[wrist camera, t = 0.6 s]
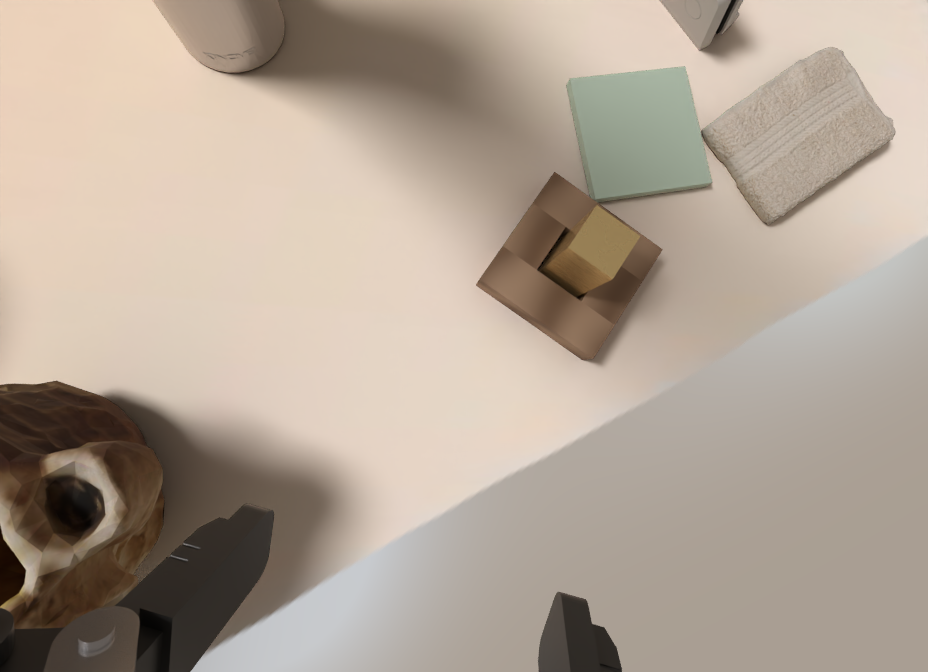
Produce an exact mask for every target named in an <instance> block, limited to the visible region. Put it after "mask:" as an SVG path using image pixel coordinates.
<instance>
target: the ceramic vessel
mask: <svg viewBox="0 0 928 672" xmlns="http://www.w3.org/2000/svg"><path fill="white" fill-rule="evenodd" d="M162 483H163V469H162V467H161V465H160V463H159V461H158V459H157V457H156V455H155V453H154V451H153V449H151V448H148V447H147V445H146V443H145V440H144V437H143V435H142V433H141V432H140V430H139V429H138V427H137V425H136V424H135V423H134V422H133V421H132V420H131V419H130V418H129V417H128V416H127V415H126V414H125V413H124V412H123V411H122V409H121V408H120V407H118V406H117V405H115V404H114V403H112V402H111V401H109V400H108V399H106V398H104V397H102V396H100V395H97V394H94V393H91V392H88V391H85V390H82V389H79V388H76V387H73V386H70V385H67V384H64V383H61V382H58V381H53V382H47V383H42V384H5V385H0V608H3V609H6V610H8V611H9V612H10V613H11V614H12V615H13V618H14V629H33V628H61V627H65V626H67V625H68V624H69V623H70V622H72V621H73V620H75V619H76V618H78V617H80V616H82V615H84V614H86V613H88V612H90V611H93V610H96V609H100V608H104V607H110V606H115V605H116V604H117V603H118V602H120V601H121V600H122V599H123V598H124V597H125V596H126V595H127V594H128V593H129V592H130V591H131V590H132V589H134V588H135V587H136V586H137V584H138V577H137V576H135V575H134V573H135V571H136V570H137V568H138V567H139V565H140V564H141V563H142V561H143V560H144V559H145V558H146V556H147V555H148V554H149V553H150V551H151V550H152V548H153V546H154V545H155V543H156V541H157V540H158V537H159V534H160V532H161V529H162V526H163V518H164V502H165V500H164V497H163V494H162V490H161V486H162Z"/></svg>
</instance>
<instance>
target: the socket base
mask: <svg viewBox="0 0 928 672" xmlns="http://www.w3.org/2000/svg"><path fill="white" fill-rule="evenodd" d="M596 205H598V206H599V207H601V208H602V209H604V210H605V211H606V212H608V213H609V214H610V215H612V216H613V217H615V218H616V219H617V220H619V221H620V222H622V223H623V224H624V225H626V226H627V227H629V228H630V229H631V230H633V231H634V232H636V233H637V234H638V235H640V238H639V239H638V241H637V242H636V244H635V245H634V247H633V249H632V250H631V252H630V253H629V255H628V256H627V258H626V259H625V261H624V262H623V264H622V266H621V267H620V269H619V270H618V272H617V273H616V275H615V276H614V278H613V279H612V280H610V281H608V282H606V283H604V284H602V285H600V286H598V287H596V288H594V289H592V290H590V291H588V292H586V293H584V294H582V295H580V296H578V297H577V298H576V297H574V296H573V295H571V294H570V293H569V292H567V291H566V290H564V289H563V288H562V287H560V286H559V285H557V284H556V283H555V282H553V281H552V280H550V279H549V278H547V277H546V276H545V275H543V274H542V273H540V272H539V271H538V270H537V269H538V267H539V266H540V264H541V263H542V261H543V260H544V258H545V257H546V255H547V254H548V252H549V251H550V250H551V248H552V247H553V245H554V244H555V242H556V241H557V239H558V238H562V237H563V236H565V235H566V234H567V233H568V232H569V231H570V230H571V229H572V228H573V227H574V226H575V225H576V224H577V223H578V222H579V221H580V220H581V219H582V218H583V217H585V216H586V215H587V214H588V213H589V212H590V211H591V210H592V209H593V208H594V207H595V206H596ZM661 251H662V249H661V248H660V247H658V246H657V245H656V244H654V243H653V242H651V241H650V240H649V239H647V238H646V237H644V236H643V235H642V234H640V233H639V232H637V231H636V230H635V229H633V228H632V227H631V226H629V225H628V224H626V223H625V222H624V221H622V220H621V219H619V218H618V217H617V216H615V215H614V214H612V213H611V212H610V211H608V210H607V209H605V208H604V207H603V206H601V205H600V204H599V203H597V202H596V201H594V200H593V199H592V198H590V197H589V196H587V195H586V194H585V193H583V192H582V191H580V190H579V189H578V188H576V187H575V186H574V185H572V184H571V183H569V182H568V181H567V180H565V179H564V178H562V177H561V176H560V175H558V174H557V173H555V172H554V173H553V175H552V176H551V178H550V179H549V181H548V182H547V184H546V185H545V186H544V188H543V189H542V191H541V192H540V194H539V195H538V196H537V198H536V199H535V201H534V202H533V204H532V205H531V206H530V208H529V209H528V211H527V212H526V214H525V215H524V216H523V218H522V219H521V221H520V222H519V224H518V225H517V226H516V228H515V229H514V231H513V232H512V234H511V235H510V236H509V238H508V239H507V241H506V242H505V244H504V245H503V247H502V248H501V249H500V251H499V252H498V254H497V255H496V257H495V258H494V259H493V261H492V262H491V264H490V265H489V267H488V268H487V269H486V271H485V272H484V274H483V275H482V277H481V278H480V279H479V281H478V283H477V284H476V286H478V287H479V288H481V289H482V290H484V291H485V292H486V293H488V294H489V295H491V296H492V297H494V298H495V299H496V300H498V301H499V302H501V303H502V304H503V305H505V306H506V307H508V308H509V309H511V310H512V311H513V312H515V313H516V314H518V315H519V316H521V317H522V318H523V319H525V320H526V321H528V322H529V323H531V324H532V325H533V326H535V327H536V328H538V329H539V330H541V331H542V332H543V333H545V334H546V335H548V336H549V337H550V338H552V339H553V340H555V341H556V342H558V343H559V344H560V345H562V346H563V347H565V348H566V349H568V350H569V351H570V352H572V353H573V354H575V355H576V356H578V357H579V358H580V359H582V360H587V359H593V358H594V357H595V355H596V354H597V352H598V351H599V349H600V347H601V346H602V344H603V343H604V341H605V340H606V338H607V336H608V335H609V333H610V332H611V330H612V328H613V327H614V325H615V324H616V322H617V321H618V319H619V317H620V316H621V314H622V313H623V311H624V310H625V308H626V306H627V305H628V303H629V302H630V300H631V299H632V297H633V295H634V294H635V292H636V291H637V289H638V287H639V286H640V284H641V283H642V281H643V280H644V278H645V276H646V275H647V273H648V272H649V270H650V269H651V267H652V265H653V264H654V262H655V261H656V259H657V258H658V256H659V254H660V253H661Z"/></svg>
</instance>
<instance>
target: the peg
mask: <svg viewBox="0 0 928 672" xmlns="http://www.w3.org/2000/svg"><path fill="white" fill-rule="evenodd" d="M639 238H640V235H638V234H637V233H636V232H634V231H633V230H631V229H630V228H629V227H627V226H626V225H624V224H623V223H622V222H620V221H619V220H617V219H616V218H615V217H613V216H612V215H610V214H609V213H608V212H606V211H605V210H604V209H602V208H601V207H599V206H598V205H596V206H595V207H594V208H593V209H592V210H591V211H590V212H589V213H588V214H587V215H586V216H585V217H583V218H582V219H581V220H580V221H579V222H578V223H577V224H576V225H575V226H574V227H573V228H572V229H571V230H570V231H569V232H568V233H567V234H566V235H565V236H563V237H562V238H561V239H560V240H559V241H558V242H557V244H556V245H555V247H554V248H553V250H552V251H551V253H550V254H549V256H548V257H547V259H546V260H545V262H544V263H543V265H542V266H541V268H540V269H539V270H538V271H539V272H540V273H542V274H543V275H545V276H546V277H547V278H549V279H550V280H552V281H553V282H555V283H556V284H557V285H559V286H560V287H562V288H563V289H564V290H566V291H567V292H569V293H570V294H571V295H573V296H574V297H578V296H580V295H582V294H584V293H586V292H588V291H590V290H592V289H594V288H596V287H598V286H600V285H602V284H604V283H606V282H608V281H610V280H612V279H613V278H614V276H615V275H616V273H617V272H618V270H619V269H620V267H621V266H622V264H623V262H624V261H625V259H626V258H627V256H628V255H629V253H630V252H631V250H632V249H633V247H634V245H635V244H636V242H637V241H638V239H639Z"/></svg>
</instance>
